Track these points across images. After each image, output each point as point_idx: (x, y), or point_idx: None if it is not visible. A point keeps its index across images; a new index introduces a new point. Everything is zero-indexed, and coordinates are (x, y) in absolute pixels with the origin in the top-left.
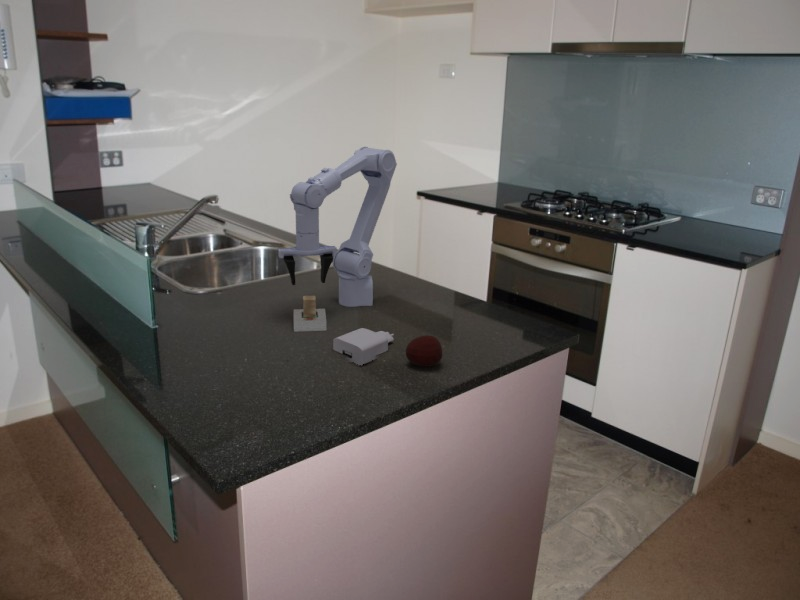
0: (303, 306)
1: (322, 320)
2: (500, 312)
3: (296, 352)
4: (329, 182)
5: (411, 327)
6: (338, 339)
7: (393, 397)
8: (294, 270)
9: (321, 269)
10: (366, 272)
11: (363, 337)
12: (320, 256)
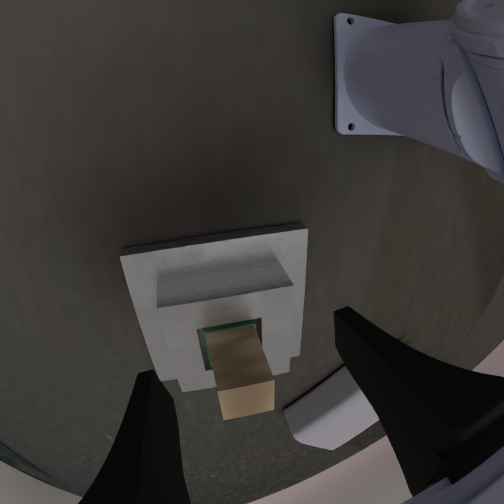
0: (217, 392)
1: (276, 373)
2: None
3: (202, 414)
4: None
5: (469, 260)
6: (303, 442)
7: (339, 455)
8: (186, 495)
9: (378, 370)
10: None
11: (353, 426)
12: (440, 429)
